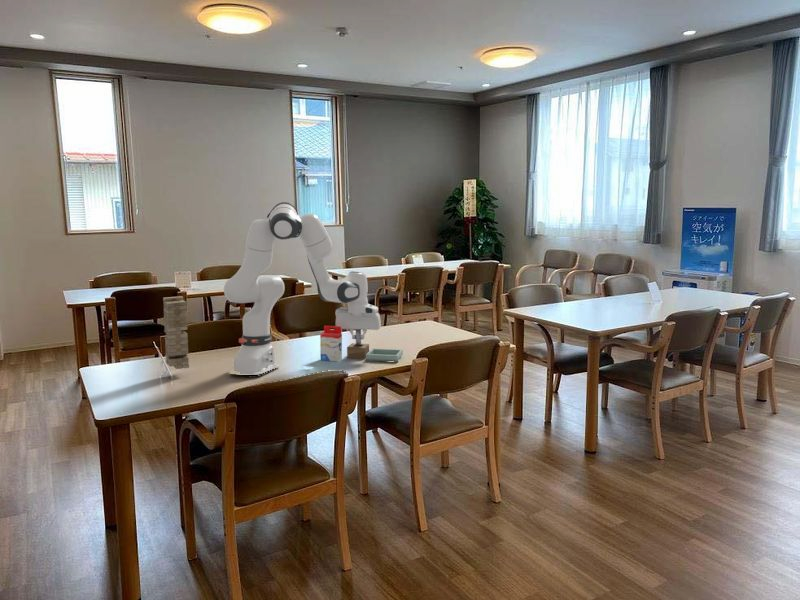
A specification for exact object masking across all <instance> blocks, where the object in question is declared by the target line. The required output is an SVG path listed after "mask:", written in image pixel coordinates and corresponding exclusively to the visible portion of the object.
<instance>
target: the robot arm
mask: <svg viewBox="0 0 800 600" xmlns="http://www.w3.org/2000/svg"><path fill="white" fill-rule="evenodd" d="M298 237H299V238H300V240H301V242H302V244H303V246H304V248H305V251H306V254H307V255H306V256H307V261H308V264H309V267H310V270H311V272H312V275H313V278H314V280H315V282H316V287H317V289H316V290H317V293H318V297H319V298H320V299H321V300H322V301H323V302H327V303H328V302H329V303H331V302H332V303H341V304H347V307H338V308H336V309H335V313H334V314H335V315H334V316H335V326H341V330H345V329H346V330H349V333H350V335H351V339H352V340H356V333H355V332H354V331H355V330H356V329H361V330H362V332H363V333H362V334H361V335H360V337H361V338H360V339H361V340H365V337H366V334H367V331H371V330H372V331H374V330H375V331H378V330H380V329H381V327H382V320H381V315H380V313H379V307H378V306H376V305H373V304H370V303H369V301H368V292H369V291H368V290H369V289H368V288H369V285H368V278H367V276H366V275H367V274H366V273H364V272H361V271H360V272H359V271H349V272H348V274H347V275H346V276H345V277H343V278H342V279H340V280H339V279H334V278H332V277H331V276H330V274H329V272H328V269H327V267H326V264H325V259H326V258H327V257H329V256H330V255H331V253H332V251H333V247H334V246H333V242H332V239H331V237H330V234H329V233H328V231H327V229H326V227H325V225H324V224H323V222H322V221H321V220H320V218H319V217H318V216H317V215H316V214H314V213H305V214H303V215H301V214H299V213H298V210H297V208H296V207H295V206H294V205H293V204H291V203H290V202H286V201H285V202H284V201H283V202H279V203H277V204H276V205H275V206H273V207H272V209H271V210H270V211H269V213H268V214H267V216H266V219H262V218H260V219H259V218H258V219H255V220H253V221H252V222H250V225H249V228H248V232H247V236H246V241H245V249H244V256H243V260H242V261H243V262H242V263H241V266H240V268H238V270H237V272H236V273H235V274H233V276H232V277H230V278H229V279H227V280H226V282H225V284H224V287H223V294H224V296H225V298H226V300H227V301H228V302H231V303H236V304H248V303H253V306H252V308H251V309H250V310H248V311H246V312H245V314H244V315H243V316H242V335H241V337H240V338H238V343H239V344H241V346H240V348H238V351H237V353H236V355H235V357H234V360H233V367H234V371H237V372H240V374H251V375H258V374H262V373H264V374H266V373H268V372H267V371H269V372H271V371H273V370H272V369H274V370H276V369H278V367H279V368H280V365H279V364H278V363H277V361H276V360H277V359H276V351H275V347H274V346H273V345H272V333H271V331H270V329H271V328H270V327H271V326H270V325H271V324H270V323H271V313H272V310H273V307H274V306H275V305H276V303H277V301H278V300H280V299H281V298H282V297H283V295H284V293H285V290H286V289H285V288H286V287H285V282H284V280H283V279H282V277H280V276H277V275H272V274H264V275H263V273H264V272H265V271H267V270H268V269H269V268H270V267H271V266H272V264H273V263H272V262H273V254H274V247H275V241H276V239H278V240H289V239H295V238H298ZM261 274H262V275H261ZM275 368H276V369H275ZM270 370H271V371H270ZM265 372H266V373H265ZM262 375H263V374H262ZM258 376H259V375H258Z"/></svg>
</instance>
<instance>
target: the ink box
mask: <svg viewBox="0 0 800 600" xmlns="http://www.w3.org/2000/svg"><path fill="white" fill-rule="evenodd" d="M342 337H343V333H342V329H341V326H336V325H324V326H323V332H322V333H320V339H319V340H320V341H319V342H320V345H319V347H320V351H319V352H320V356H319V357H320V361H326V362H339V361H341V360H342V358H343V341H342V340H343V338H342Z"/></svg>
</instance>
